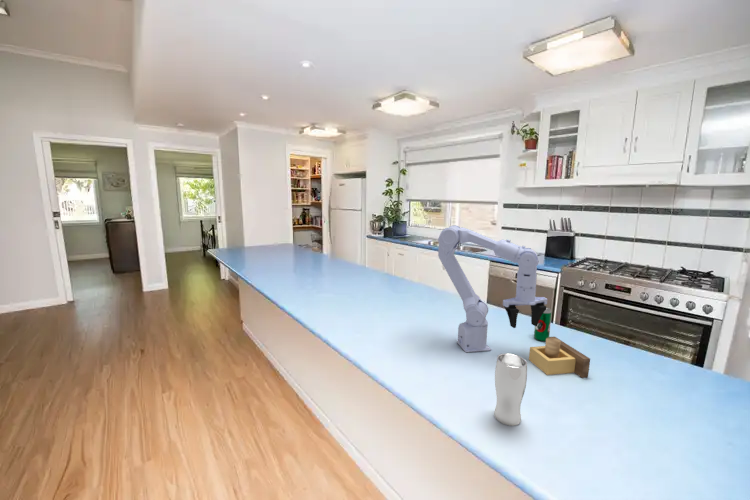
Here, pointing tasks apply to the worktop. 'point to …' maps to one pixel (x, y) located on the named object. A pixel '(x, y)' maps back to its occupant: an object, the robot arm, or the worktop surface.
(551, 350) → the dowel
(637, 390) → the worktop surface
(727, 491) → the worktop surface
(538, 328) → the soda can
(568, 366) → the socket block
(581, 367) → the walnut wall
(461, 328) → the robot arm
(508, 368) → the beer glass
